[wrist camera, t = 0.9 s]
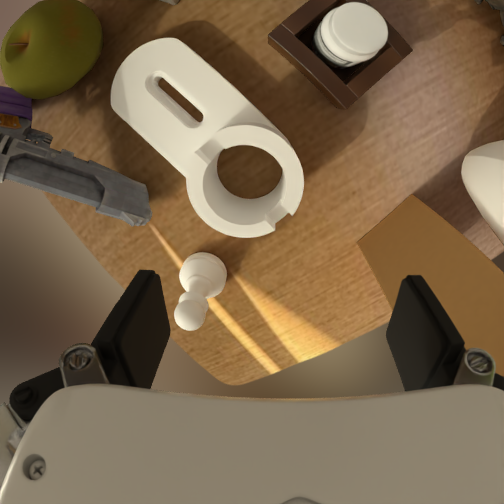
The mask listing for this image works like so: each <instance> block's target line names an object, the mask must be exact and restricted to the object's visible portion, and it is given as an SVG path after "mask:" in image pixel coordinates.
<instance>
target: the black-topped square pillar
mask: <svg viewBox="0 0 504 504" xmlns="http://www.w3.org/2000/svg"><path fill="white" fill-rule="evenodd" d="M357 244H358V246H359V248H360V250H361V251H362V253H363V255H364V257H365V259H366V261H367V263H368V264H369V266H370V268H371V270H372V272H373V274H374V276H375V278H376V280H377V281H378V283H379V285H380V287H381V289H382V291H383V293H384V295H385V297H386V299H387V301H388V303H389V305H390V307H391V309H392V311H393V309H394V306H395V302H396V299H397V296H398V292H399V288H400V285H401V281H402V280H403V279H405V278H406V276H407V275H421V276H422V277H423V278H424V279H425V281H426V282H427V284H428V285H429V287H430V288H431V290H432V291H433V293H434V294H435V295H436V297H437V299H438V300H439V302H440V303H441V305H442V306H443V308H444V309H445V311H446V312H447V314H448V315H449V317H450V319H451V320H452V322H453V323H454V325H455V327H456V328H457V330H458V332H459V333H460V335H461V337H462V338H463V340H464V342H465V345H464V347H465V349H466V350H468V349H470V348H480V349H483V350H485V351H486V352H488V353H489V354H490V355H491V356H492V357H493V359H494V361H495V364H496V370H495V373H497V374H499V375H501V376H503V377H504V273H503V272H502V271H501V270H500V269H499V268H498V267H497V266H496V265H495V264H494V263H493V262H492V261H491V260H490V259H489V258H488V257H487V256H486V255H485V254H483V253H482V252H481V251H480V250H479V249H478V248H477V247H476V246H475V245H474V244H473V243H471V242H470V241H469V240H468V239H467V238H466V237H465V236H463V235H462V234H461V233H460V232H459V231H458V230H457V229H455V228H454V227H453V226H452V225H451V224H449V223H448V222H447V221H446V220H445V219H443V218H442V217H441V216H440V215H438V214H437V213H436V212H435V211H433V210H432V209H431V208H430V207H428V206H427V205H426V204H425V203H423V202H422V201H421V200H419V199H418V198H417V197H415V196H414V195H413V194H411V195H410V196H409V197H408V198H407V199H406V200H404V201H403V202H402V203H401V204H400V205H399V206H398V207H397V208H396V209H395V210H393V211H392V212H391V213H390V214H389V215H388V216H387V217H386V218H384V219H383V220H382V221H381V222H380V223H379V224H378V225H377V226H375V227H374V228H373V229H372V230H371V231H370V232H368V233H367V234H366V235H365V236H364V237H363V238H362V239H360V240H359V241H358V242H357Z"/></svg>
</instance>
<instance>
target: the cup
mask: <svg viewBox="0 0 504 504" xmlns="http://www.w3.org/2000/svg"><path fill="white" fill-rule="evenodd" d="M461 175H462V180H463V183H464V185H465V187H466V190H467V192H468V193H469V195H470V197H471V198H472V200H473V202H474V203H475V205H476V207H477V208H478V210H479V212H480V213H481V215H482V217H483V218H484V220H485V221H486V222H487V224H488V225H489V226H490V228H491V229H492V230H493V232H494V233H495V234H496V236H497V237H498V238H499V240H500V241H501V242H502V244H503V245H504V140H501V141H497V142H492V143H488V144H485V145H482V146H480V147H478V148H475V149H473V150H471V151H470V152H469V153H468V154H467V155H466V156H465V158H464V161H463V163H462V170H461Z"/></svg>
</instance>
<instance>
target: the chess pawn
mask: <svg viewBox="0 0 504 504" xmlns="http://www.w3.org/2000/svg"><path fill="white" fill-rule="evenodd" d="M179 277H180V282H181V284H182V286H183V287H184V289H185V290H186V292H185V293H183V294H182V295H181V296H180V298H179V304H178V305H177V307H176V309H175V311H174V318H175V321H176V323H177V324H178V325H179V327H181V328H182V329H185V330H189V331H192V330H196V329H198V328H199V327H200V326H201V325H202V324H203V322H204V320H205V312H207V310H208V302H207V298H211V297H214V296H216V295H218V294H219V293H220V292H221V291H222V290H223V288H224V286H225V282H226V278H227V270H226V267H225V265H224V263H223V262H222V261H221V260H220V259H219V258H218V257H216V256H215V255H212V254H210V253H205V252H199V253H195V254H192V255H191V256H189V257H188V258H187V259H186V260H185V262H184V264H183V266H182V268H181V270H180V276H179Z"/></svg>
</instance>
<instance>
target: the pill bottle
mask: <svg viewBox="0 0 504 504" xmlns="http://www.w3.org/2000/svg"><path fill="white" fill-rule="evenodd" d="M387 38H388V28H387V25H386V22H385V20H384V19H383V17H382V16H381V15H380V14H379V12H378V11H376V10H375V9H374V8H372V7H370V6H368V5H366V4H363V3H358V2H350V3H346V4H343V5H341V6H340V7H337V8H335V9H333V10H331V11H330V12H329V13H327V15H326V16H325V17H324V18H323V20H322V22H321V23H320V25H319V26H318V28H317V29H316V31H315V32H314V34H313V37H312V49H313V52H314V54H315V55H316V56H317V57H319V58H320V59H321V60H322V61H323V62H324V63H325V64H326V65H327V66H329V67H331V68H336V69H345V68H349V67H351V66H354V65H356V64H359V63H361V62H364V61H366V60H369V59H371V58H372V57H373V56H375V55H376V54H377V53H378V51H379V50H380V49H381V48H382V47H383V46H384V45H385V43H386V41H387Z"/></svg>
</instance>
